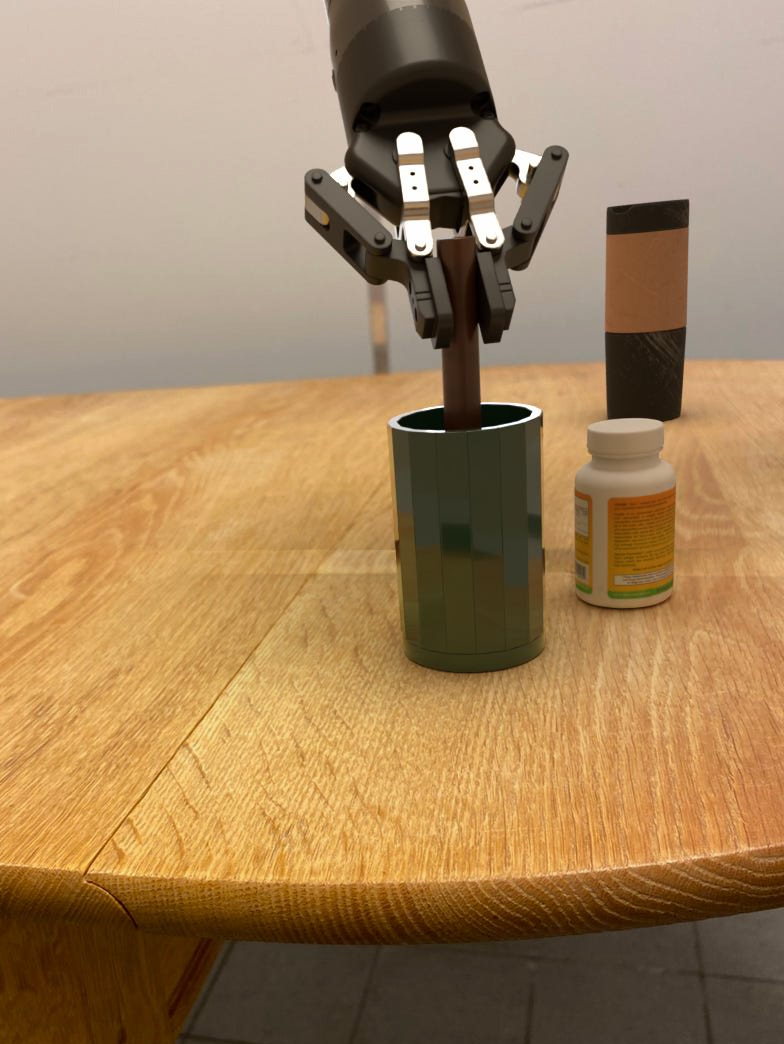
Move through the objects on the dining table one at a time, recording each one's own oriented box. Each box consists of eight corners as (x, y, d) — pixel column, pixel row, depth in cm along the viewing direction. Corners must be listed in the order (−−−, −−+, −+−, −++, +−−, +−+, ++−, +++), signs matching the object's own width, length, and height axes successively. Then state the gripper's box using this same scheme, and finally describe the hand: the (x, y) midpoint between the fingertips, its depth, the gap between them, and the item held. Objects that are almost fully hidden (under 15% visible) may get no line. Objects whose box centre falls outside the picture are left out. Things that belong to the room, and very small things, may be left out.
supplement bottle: (690, 588, 61) (696, 417, 57) (643, 617, 57) (647, 437, 54) (605, 573, 64) (606, 412, 61) (556, 600, 61) (554, 431, 57)
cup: (551, 620, 58) (548, 399, 54) (538, 675, 52) (533, 428, 47) (418, 618, 60) (405, 406, 56) (389, 670, 54) (372, 435, 50)
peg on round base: (512, 575, 56) (505, 231, 50) (503, 601, 53) (494, 235, 46) (437, 574, 57) (421, 239, 51) (423, 600, 54) (404, 243, 48)
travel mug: (680, 407, 110) (686, 198, 102) (687, 421, 103) (694, 198, 96) (603, 411, 112) (604, 206, 104) (605, 425, 105) (606, 207, 97)
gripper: (272, 13, 51) (321, 292, 44) (551, -13, 52) (642, 259, 45) (277, 142, 58) (319, 401, 51) (523, 118, 59) (597, 371, 52)
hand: (470, 333), depth 48 cm, fingers closed on peg on round base, 2 cm apart
